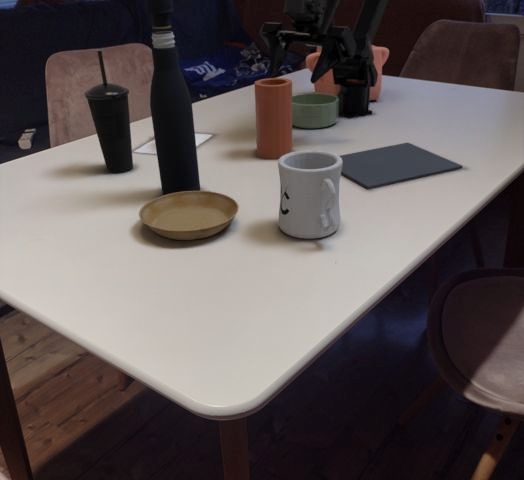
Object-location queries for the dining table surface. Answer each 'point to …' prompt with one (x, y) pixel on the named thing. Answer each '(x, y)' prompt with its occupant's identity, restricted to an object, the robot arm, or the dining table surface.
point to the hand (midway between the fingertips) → (290, 79)
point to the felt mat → (393, 165)
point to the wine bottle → (171, 108)
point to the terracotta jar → (273, 117)
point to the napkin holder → (151, 145)
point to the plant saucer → (189, 214)
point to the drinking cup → (112, 122)
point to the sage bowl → (314, 110)
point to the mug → (309, 193)
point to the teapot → (329, 87)
